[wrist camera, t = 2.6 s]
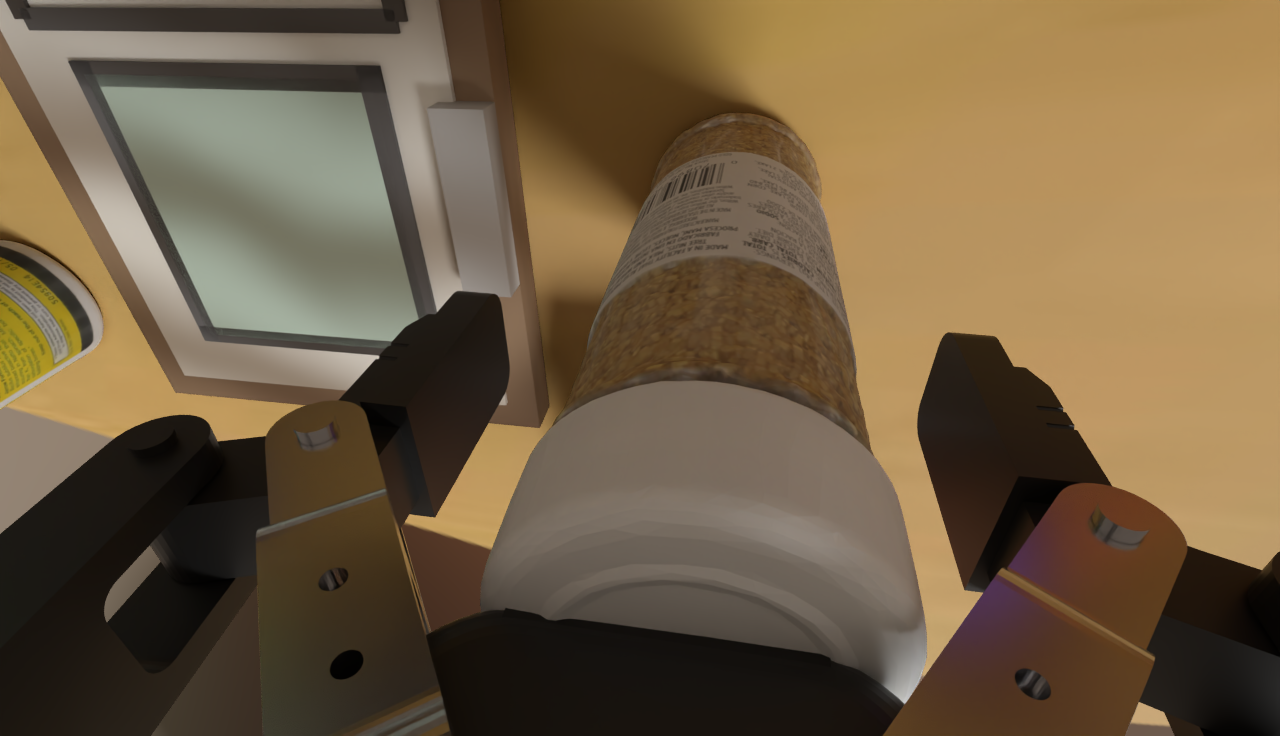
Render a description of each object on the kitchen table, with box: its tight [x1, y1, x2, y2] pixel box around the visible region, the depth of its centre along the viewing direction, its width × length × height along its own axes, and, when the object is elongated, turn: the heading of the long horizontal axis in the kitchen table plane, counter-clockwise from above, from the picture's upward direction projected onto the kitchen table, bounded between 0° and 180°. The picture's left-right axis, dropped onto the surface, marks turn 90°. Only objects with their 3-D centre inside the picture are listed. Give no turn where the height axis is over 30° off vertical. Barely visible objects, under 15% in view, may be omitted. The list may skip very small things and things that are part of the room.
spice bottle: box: [480, 113, 927, 704], centre depth 12 cm, size 5×5×14 cm
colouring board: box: [0, 0, 549, 428], centre depth 18 cm, size 16×14×2 cm
